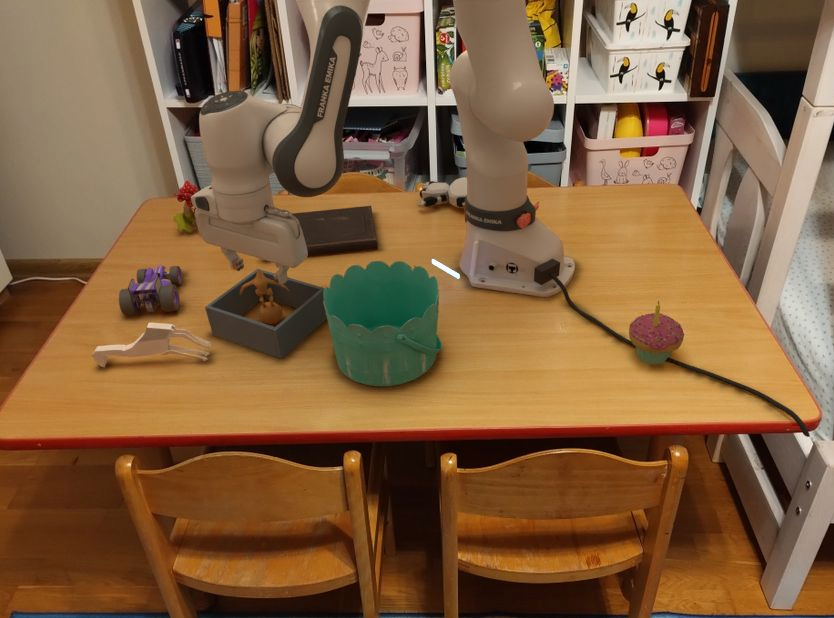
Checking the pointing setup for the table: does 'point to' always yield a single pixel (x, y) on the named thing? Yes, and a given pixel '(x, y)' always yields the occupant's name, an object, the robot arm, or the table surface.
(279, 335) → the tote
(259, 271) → the figurine
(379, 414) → the table surface
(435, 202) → the robot toy
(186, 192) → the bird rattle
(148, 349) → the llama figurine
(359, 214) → the hardcover book
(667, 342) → the cupcake
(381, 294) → the basket
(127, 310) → the toy race car
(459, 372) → the table surface
